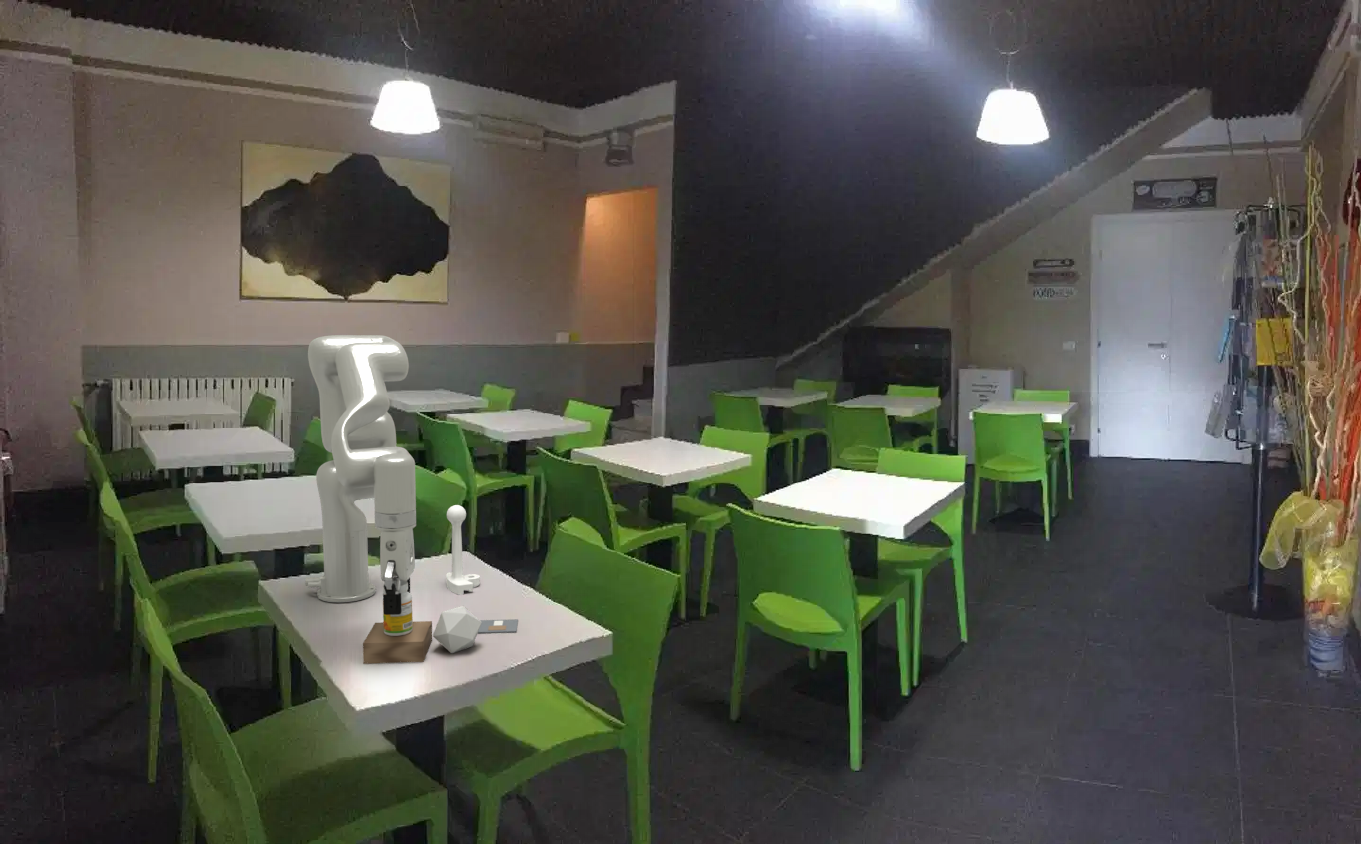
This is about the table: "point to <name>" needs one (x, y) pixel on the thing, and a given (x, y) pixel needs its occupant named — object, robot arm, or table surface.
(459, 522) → the joystick
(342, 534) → the robot arm
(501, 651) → the table surface
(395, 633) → the supplement bottle
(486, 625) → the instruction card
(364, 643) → the base block
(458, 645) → the die
